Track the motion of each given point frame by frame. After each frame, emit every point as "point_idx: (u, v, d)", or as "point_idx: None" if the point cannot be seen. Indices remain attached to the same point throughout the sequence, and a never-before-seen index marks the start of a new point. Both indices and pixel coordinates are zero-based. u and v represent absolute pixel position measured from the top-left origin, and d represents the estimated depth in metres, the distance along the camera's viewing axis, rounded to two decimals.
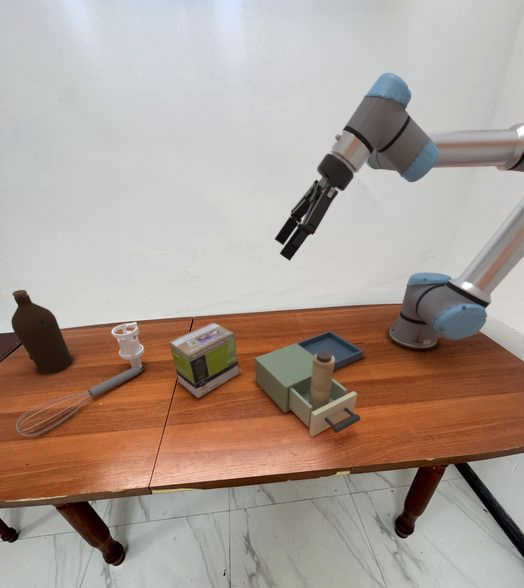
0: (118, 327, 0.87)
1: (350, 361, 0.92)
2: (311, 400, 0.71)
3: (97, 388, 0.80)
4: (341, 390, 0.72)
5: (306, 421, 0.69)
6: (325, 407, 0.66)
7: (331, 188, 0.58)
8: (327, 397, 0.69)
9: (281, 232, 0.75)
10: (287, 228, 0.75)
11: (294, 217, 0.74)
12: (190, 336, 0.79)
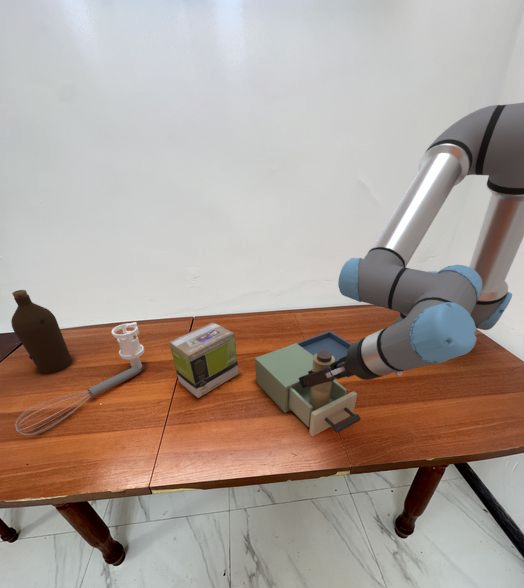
0: (118, 327, 0.87)
1: None
2: (311, 400, 0.71)
3: (97, 388, 0.80)
4: (341, 390, 0.72)
5: (306, 421, 0.69)
6: (325, 407, 0.66)
7: None
8: (327, 397, 0.69)
9: None
10: None
11: None
12: (190, 336, 0.79)
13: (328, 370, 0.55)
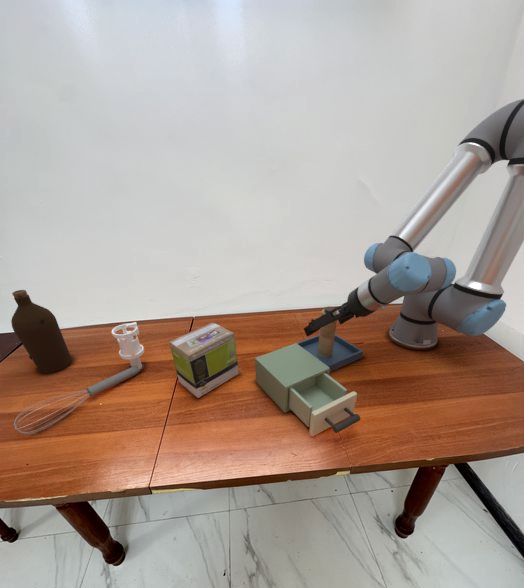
0: (118, 327, 0.87)
1: (350, 361, 0.92)
2: (319, 346, 0.93)
3: (96, 387, 0.80)
4: (341, 390, 0.72)
5: (306, 421, 0.69)
6: (325, 407, 0.66)
7: None
8: (332, 343, 0.92)
9: None
10: None
11: None
12: (190, 336, 0.79)
13: (337, 308, 0.76)
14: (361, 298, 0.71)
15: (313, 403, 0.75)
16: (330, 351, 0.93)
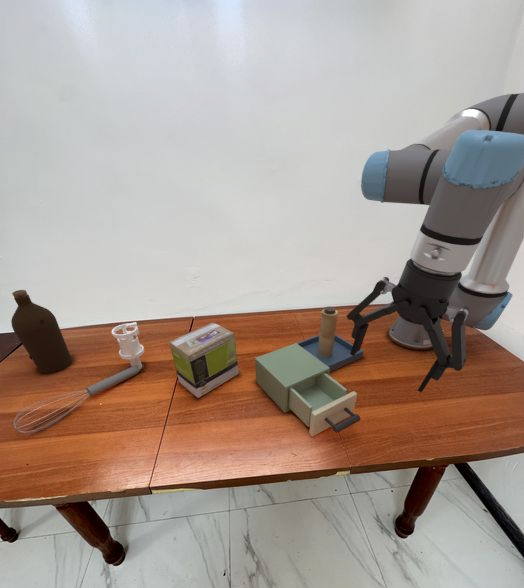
0: (118, 327, 0.87)
1: (350, 361, 0.92)
2: (319, 346, 0.93)
3: (95, 387, 0.80)
4: (341, 390, 0.72)
5: (306, 421, 0.69)
6: (325, 407, 0.66)
7: (466, 314, 0.42)
8: (332, 343, 0.92)
9: (357, 346, 0.57)
10: (361, 338, 0.57)
11: None
12: (190, 336, 0.79)
13: (386, 278, 0.49)
14: None
15: (313, 403, 0.75)
16: (330, 351, 0.93)
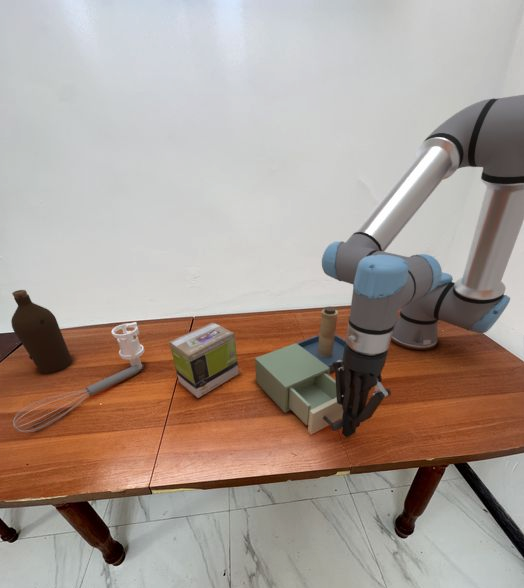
0: (118, 327, 0.87)
1: None
2: (319, 346, 0.93)
3: (95, 387, 0.80)
4: None
5: (304, 419, 0.70)
6: (323, 405, 0.66)
7: (384, 397, 0.53)
8: (332, 343, 0.92)
9: None
10: None
11: (349, 409, 0.63)
12: (191, 336, 0.79)
13: (340, 359, 0.62)
14: None
15: (312, 402, 0.75)
16: (330, 351, 0.93)
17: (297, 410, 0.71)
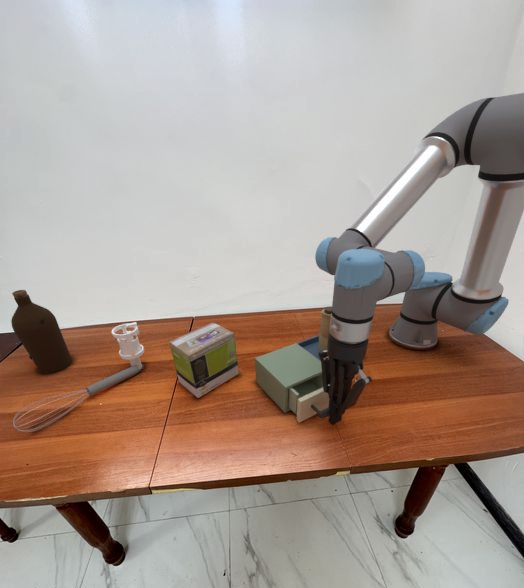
0: (118, 327, 0.87)
1: None
2: (319, 346, 0.93)
3: (95, 387, 0.80)
4: None
5: (293, 408, 0.73)
6: (311, 394, 0.69)
7: (365, 384, 0.56)
8: None
9: None
10: None
11: (335, 397, 0.66)
12: (190, 336, 0.79)
13: None
14: None
15: (301, 392, 0.78)
16: None
17: None
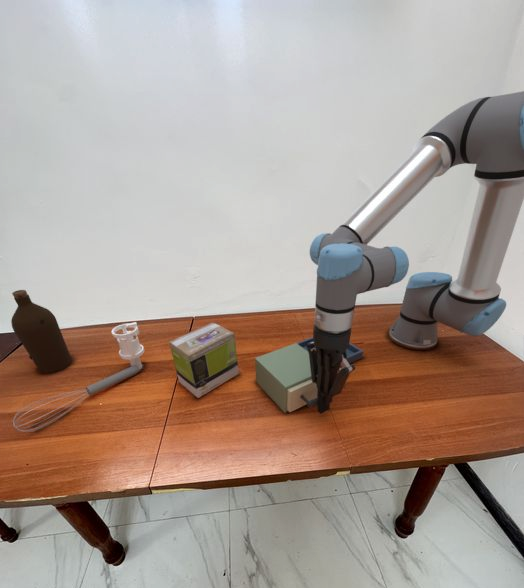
0: (118, 327, 0.87)
1: (350, 361, 0.92)
2: None
3: (95, 386, 0.80)
4: None
5: None
6: (300, 385, 0.72)
7: (349, 371, 0.59)
8: None
9: None
10: None
11: (323, 387, 0.69)
12: (190, 336, 0.79)
13: (314, 341, 0.68)
14: None
15: None
16: None
17: None
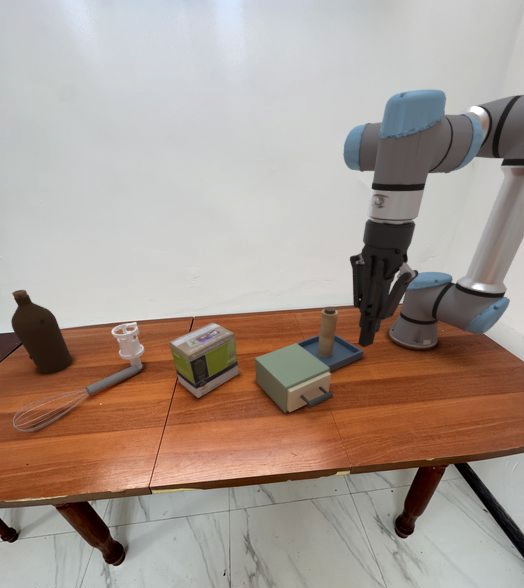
0: (118, 327, 0.87)
1: (350, 361, 0.92)
2: (319, 346, 0.93)
3: (95, 386, 0.80)
4: None
5: None
6: (300, 385, 0.72)
7: (411, 277, 0.47)
8: (332, 343, 0.92)
9: None
10: None
11: (368, 312, 0.57)
12: (191, 336, 0.79)
13: None
14: None
15: None
16: (330, 351, 0.93)
17: None
